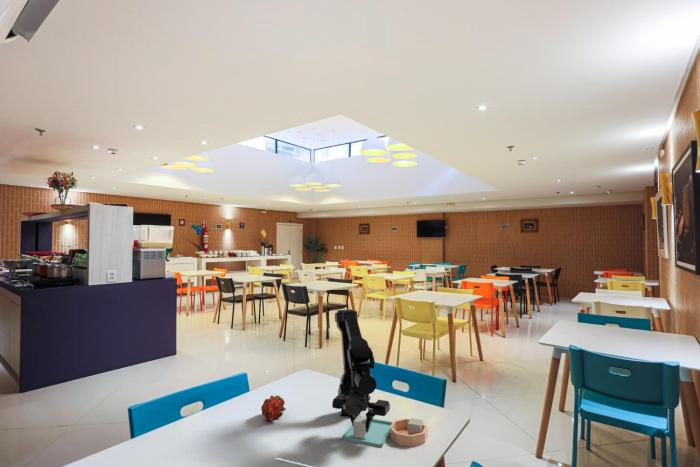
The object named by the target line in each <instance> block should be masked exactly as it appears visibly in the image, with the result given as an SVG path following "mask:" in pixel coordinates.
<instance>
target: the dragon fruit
mask: <svg viewBox="0 0 700 467" xmlns="http://www.w3.org/2000/svg"><path fill="white" fill-rule="evenodd" d="M286 409H287V408H286V407H285V399H283V398H282V397H281V396H280V395H275V396H274V395H270V396H269V398H266V399H265V400H263V404H262V405H261V409H260V410H261V414H262V416H263V417H264V418H265V419H266V422H267V423H269V422H270V421H275V419H277V418H278V419H280V418H281V417H282V416H283V414H284V412H285V411H286ZM278 419H277V420H278Z"/></svg>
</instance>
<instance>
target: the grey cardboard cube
mask: <svg viewBox="0 0 700 467" xmlns="http://www.w3.org/2000/svg"><path fill="white" fill-rule="evenodd" d="M360 416H361V415H358V416H357V418H356V419H355V420H354V421H353V429H354V437H357V438H362V439H365V438H366V437H367V436H368V434H369V431H368V432H366V418H365V417H366V416H362V417H360Z"/></svg>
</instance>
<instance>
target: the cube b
mask: <svg viewBox="0 0 700 467" xmlns="http://www.w3.org/2000/svg"><path fill="white" fill-rule="evenodd" d="M409 419H410V420H409V422H408V435H414V434H418V433H422V432H423V423H424V422H423V419H420V418H412V417H410V418H409Z"/></svg>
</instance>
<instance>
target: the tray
mask: <svg viewBox="0 0 700 467" xmlns="http://www.w3.org/2000/svg"><path fill="white" fill-rule="evenodd" d="M359 416H360V417H363V416H362V415H359ZM364 417H365V418H366V416H364ZM392 423H393V421H392V420H386V419H380V418H379V419H378V418H375V417H373V419H372V422H371V425H370V428H369V434H368V436H367V437H366V438H365V439H362V438H357V437H354V429H353V425H352V424H351V425H350V427H349V428H348V429H347V430H346V431H345V432H344V433H343V435H342V436H341V440H343V441H349V442H353V443H358V444H363V445H368V446H373V447H377V448H378V447H379V448H383V446H384V445H385V443H386V442H387V440H388V439H389V438H390V426H391V424H392Z"/></svg>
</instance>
